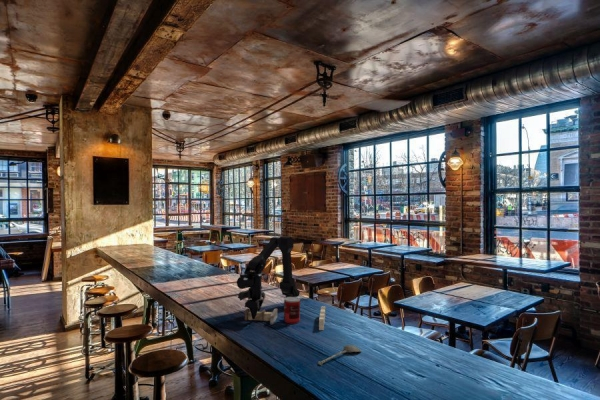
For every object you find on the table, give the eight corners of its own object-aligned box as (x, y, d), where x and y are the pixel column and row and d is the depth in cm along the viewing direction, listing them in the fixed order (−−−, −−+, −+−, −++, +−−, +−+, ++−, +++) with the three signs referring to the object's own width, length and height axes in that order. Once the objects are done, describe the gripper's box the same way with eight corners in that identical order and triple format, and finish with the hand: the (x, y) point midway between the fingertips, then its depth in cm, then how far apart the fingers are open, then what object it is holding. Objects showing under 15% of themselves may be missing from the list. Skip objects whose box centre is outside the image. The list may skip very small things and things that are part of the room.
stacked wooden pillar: (242, 322, 170) (242, 313, 170) (248, 315, 182) (249, 306, 182) (272, 324, 169) (273, 315, 169) (277, 316, 181) (277, 307, 181)
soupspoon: (364, 354, 140) (352, 349, 144) (364, 345, 140) (352, 341, 145) (325, 368, 125) (313, 363, 130) (325, 359, 125) (313, 353, 130)
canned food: (289, 317, 179) (289, 295, 179) (302, 320, 175) (303, 298, 175) (280, 321, 173) (281, 299, 173) (294, 325, 168) (294, 301, 169)
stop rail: (321, 316, 182) (321, 306, 182) (325, 316, 182) (325, 306, 182) (319, 329, 162) (319, 319, 162) (323, 330, 162) (323, 319, 162)
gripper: (244, 280, 186) (244, 310, 186) (234, 289, 168) (234, 322, 167) (265, 281, 185) (265, 311, 185) (257, 290, 166) (257, 323, 166)
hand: (255, 316), depth 176 cm, fingers open, 7 cm apart
